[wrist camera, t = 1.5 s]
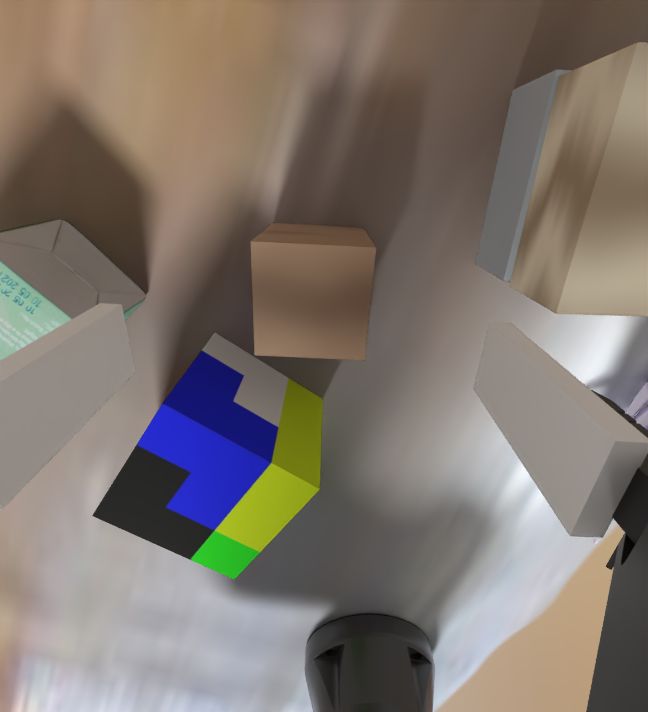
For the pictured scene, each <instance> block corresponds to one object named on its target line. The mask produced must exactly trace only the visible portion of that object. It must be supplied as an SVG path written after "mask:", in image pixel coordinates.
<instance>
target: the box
mask: <svg viewBox="0 0 648 712" xmlns="http://www.w3.org/2000/svg"><path fill="white" fill-rule="evenodd" d="M145 298H146V295H145V293H144V292H143V291H142V290H141V289H140V288H139V287H138V286H137V285H136V284H135V283H134V282H133V281H132V280H131V279H130V278H129V277H128V276H127V275H126V274H125V273H124V272H122V271H121V270H120V269H119V268H118V267H117V266H116V265H115V264H114V263H113V262H112V261H111V260H110V259H109V258H107V257H106V256H105V255H104V254H103V253H102V252H101V251H100V250H99V249H98V248H97V247H96V246H95V245H93V244H92V243H91V242H90V241H89V240H88V239H87V238H86V237H85V236H83V235H82V234H81V233H80V232H79V231H78V230H77V229H75V228H74V227H73V226H72V225H71V224H69V223H68V222H66V221H64V220H60V219H57V220H52V221H47V222H42V223H37V224H33V225H28V226H23V227H18V228H13V229H8V230H3V231H0V361H1V360H2V359H4V358H6V357H7V356H9V355H11V354H13V353H14V352H16V351H18V350H20V349H21V348H23V347H25V346H27V345H28V344H30V343H32V342H34V341H35V340H37V339H39V338H41V337H42V336H44V335H46V334H47V333H49V332H51V331H53V330H54V329H56V328H58V327H60V326H61V325H63V324H65V323H67V322H68V321H70V320H72V319H74V318H75V317H77V316H79V315H80V314H82V313H84V312H86V311H87V310H89V309H91V308H93V307H94V306H96V305H98V304H100V303H106V304H122V308H123V313H124V318H125V320H126V319H127V318H128V317H129V316H130V315H131V314H132V313H133V311H134V310H135V309H136V308H137V307H138V306H139V305H140V304H141V303H142V302H143V300H144V299H145Z"/></svg>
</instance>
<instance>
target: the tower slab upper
mask: <svg viewBox="0 0 648 712" xmlns="http://www.w3.org/2000/svg"><path fill="white" fill-rule="evenodd" d="M509 286H510V287H512V288H514V289H515V290H517V291H519V292H520V293H522V294H524V295H525V296H527V297H529V298H531V299H532V300H534V301H536V302H537V303H539V304H541V305H542V306H544V307H546V308H547V309H549V310H551V311H552V312H554V313H556V314H584V315H618V316H648V42H637V43H635V44H632V45H630V46H628V47H626V48H623V49H621V50H619V51H616V52H614V53H612V54H610V55H607V56H605V57H603V58H600V59H598V60H596V61H593V62H591V63H589V64H587V65H584V66H582V67H580V68H577V69H575V70H573V71H570V72H568V73H566V74H564V75H561V76H559V80H558V84H557V88H556V92H555V96H554V100H553V105H552V109H551V113H550V117H549V121H548V126H547V130H546V134H545V138H544V142H543V146H542V151H541V155H540V159H539V163H538V167H537V172H536V176H535V180H534V184H533V188H532V192H531V197H530V201H529V205H528V209H527V213H526V217H525V222H524V226H523V230H522V234H521V238H520V243H519V247H518V251H517V255H516V259H515V263H514V268H513V272H512V276H511V280H510V284H509Z"/></svg>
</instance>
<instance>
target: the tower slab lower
mask: <svg viewBox="0 0 648 712" xmlns="http://www.w3.org/2000/svg"><path fill="white" fill-rule="evenodd" d="M570 71H573V70H557V69H556V70H554V71H552V72H550V73H548V74H546V75H544V76H542V77H539V78H537V79H535V80H533V81H531V82H529V83H527V84H525V85H523V86H520V87H518V88H516V89H514V90H513V91H512V95H511V100H510V105H509V109H508V114H507V119H506V123H505V128H504V132H503V137H502V142H501V146H500V151H499V156H498V160H497V165H496V170H495V174H494V179H493V183H492V188H491V193H490V197H489V202H488V207H487V211H486V216H485V221H484V225H483V230H482V235H481V239H480V244H479V248H478V253H477V258H476V262H475V264H476V265H478V266H479V267H481V268H483V269H484V270H486V271H488V272H489V273H491V274H493V275H494V276H496V277H498V278H499V279H501V280H503V281H510V280H511V276H512V272H513V268H514V263H515V259H516V255H517V251H518V247H519V243H520V238H521V234H522V230H523V226H524V222H525V217H526V213H527V209H528V205H529V201H530V197H531V192H532V188H533V184H534V180H535V176H536V172H537V167H538V163H539V159H540V155H541V151H542V146H543V142H544V138H545V134H546V130H547V126H548V121H549V117H550V113H551V109H552V105H553V100H554V96H555V92H556V88H557V84H558V80H559V76H561V75H564V74H566V73H568V72H570Z"/></svg>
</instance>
